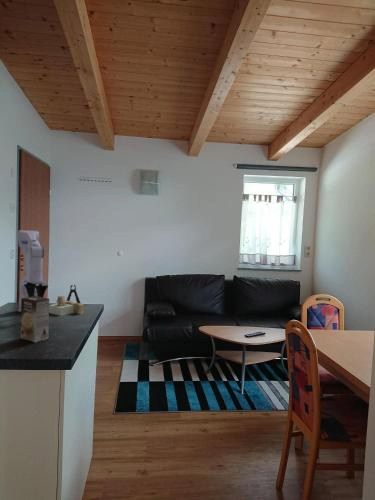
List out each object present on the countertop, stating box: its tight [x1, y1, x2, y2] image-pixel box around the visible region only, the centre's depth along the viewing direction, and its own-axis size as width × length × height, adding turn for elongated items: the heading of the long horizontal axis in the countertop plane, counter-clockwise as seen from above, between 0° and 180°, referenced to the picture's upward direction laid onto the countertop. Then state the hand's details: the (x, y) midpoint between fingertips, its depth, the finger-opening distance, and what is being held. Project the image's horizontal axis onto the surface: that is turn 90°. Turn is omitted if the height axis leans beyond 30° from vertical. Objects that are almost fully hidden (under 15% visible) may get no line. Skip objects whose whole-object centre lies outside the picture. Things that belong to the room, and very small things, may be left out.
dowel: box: [57, 295, 66, 307], centre depth 167 cm, size 4×4×8 cm
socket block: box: [49, 303, 75, 317], centre depth 167 cm, size 10×8×4 cm
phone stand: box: [65, 284, 82, 304], centre depth 183 cm, size 9×6×12 cm, turn 109°
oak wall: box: [56, 299, 85, 315], centre depth 171 cm, size 20×2×5 cm, turn 58°
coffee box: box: [20, 296, 50, 343], centre depth 125 cm, size 9×6×16 cm
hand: (35, 298), depth 155 cm, fingers open, 7 cm apart
